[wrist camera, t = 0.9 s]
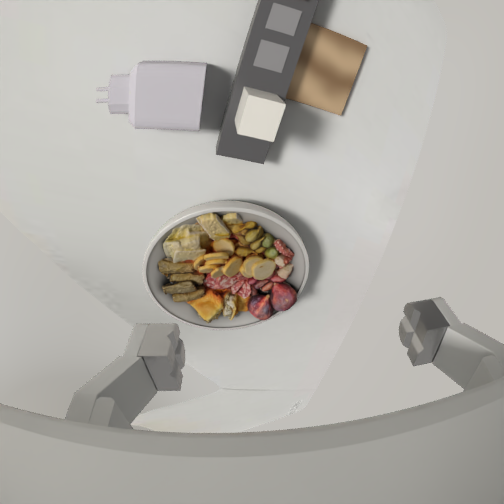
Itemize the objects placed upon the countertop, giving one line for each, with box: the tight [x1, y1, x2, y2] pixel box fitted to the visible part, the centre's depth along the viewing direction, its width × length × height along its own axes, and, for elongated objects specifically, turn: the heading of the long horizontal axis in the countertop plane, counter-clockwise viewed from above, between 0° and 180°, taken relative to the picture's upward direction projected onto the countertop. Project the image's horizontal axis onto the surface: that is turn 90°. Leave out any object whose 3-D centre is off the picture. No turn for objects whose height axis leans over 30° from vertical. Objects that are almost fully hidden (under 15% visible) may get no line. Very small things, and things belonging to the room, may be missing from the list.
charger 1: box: [96, 61, 207, 131], centre depth 37 cm, size 5×9×15 cm
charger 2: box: [235, 86, 286, 142], centre depth 38 cm, size 5×4×8 cm
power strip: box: [216, 0, 319, 164], centre depth 37 cm, size 28×7×4 cm, turn 164°
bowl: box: [142, 201, 309, 330], centre depth 58 cm, size 30×30×8 cm
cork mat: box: [286, 23, 367, 115], centre depth 39 cm, size 12×9×1 cm
